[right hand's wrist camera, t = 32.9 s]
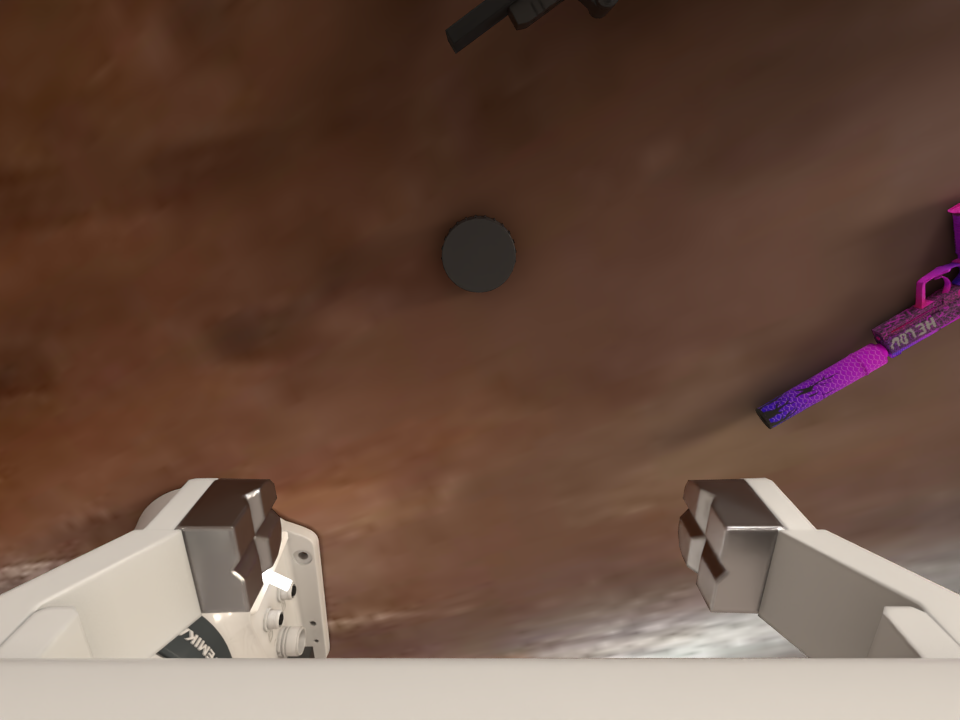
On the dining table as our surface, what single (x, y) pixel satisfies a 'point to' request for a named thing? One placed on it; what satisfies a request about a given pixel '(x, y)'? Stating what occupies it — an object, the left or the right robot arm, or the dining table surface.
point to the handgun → (890, 337)
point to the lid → (478, 254)
